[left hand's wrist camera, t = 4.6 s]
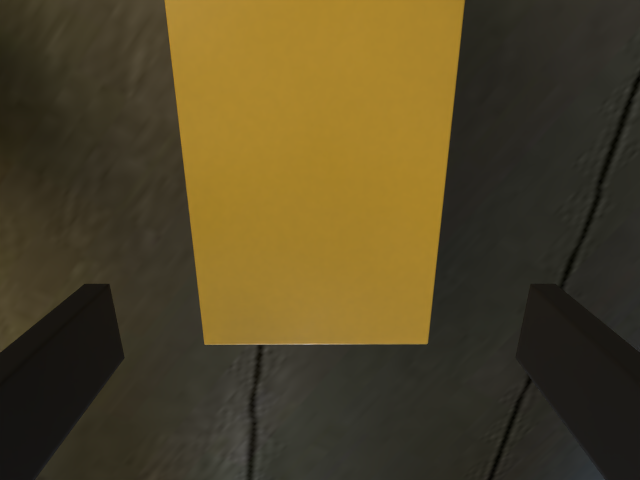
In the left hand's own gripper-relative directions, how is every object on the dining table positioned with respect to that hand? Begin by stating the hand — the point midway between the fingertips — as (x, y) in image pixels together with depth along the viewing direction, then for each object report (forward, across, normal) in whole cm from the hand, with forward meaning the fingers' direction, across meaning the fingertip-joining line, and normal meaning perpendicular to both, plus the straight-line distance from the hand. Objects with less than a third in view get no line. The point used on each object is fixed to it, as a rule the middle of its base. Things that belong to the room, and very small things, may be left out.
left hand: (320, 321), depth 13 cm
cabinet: (+15, 0, -6) cm, 16 cm away
